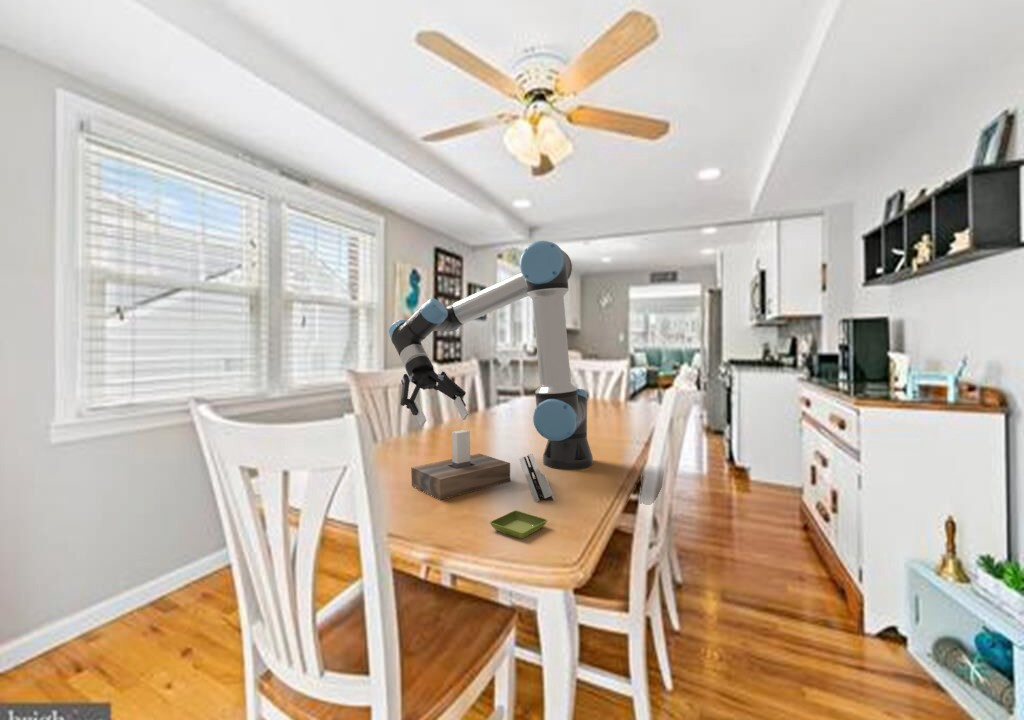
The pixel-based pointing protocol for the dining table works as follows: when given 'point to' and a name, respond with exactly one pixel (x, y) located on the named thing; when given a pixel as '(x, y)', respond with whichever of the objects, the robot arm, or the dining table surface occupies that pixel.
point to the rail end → (460, 449)
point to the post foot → (460, 476)
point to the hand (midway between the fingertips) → (445, 420)
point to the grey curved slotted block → (536, 479)
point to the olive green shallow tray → (518, 524)
